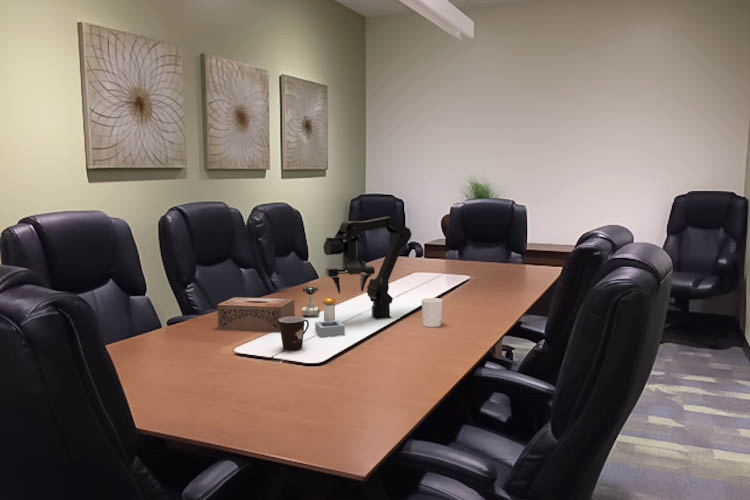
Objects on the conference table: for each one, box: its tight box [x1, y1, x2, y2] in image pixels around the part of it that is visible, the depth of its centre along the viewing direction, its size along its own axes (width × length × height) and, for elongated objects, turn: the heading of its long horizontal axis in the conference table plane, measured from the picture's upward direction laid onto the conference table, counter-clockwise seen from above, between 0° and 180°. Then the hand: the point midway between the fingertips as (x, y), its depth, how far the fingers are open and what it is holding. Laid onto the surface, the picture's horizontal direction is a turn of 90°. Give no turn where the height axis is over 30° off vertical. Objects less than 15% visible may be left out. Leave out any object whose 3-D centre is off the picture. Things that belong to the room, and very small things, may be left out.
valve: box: [301, 286, 320, 317], centre depth 251 cm, size 7×7×12 cm
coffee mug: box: [279, 316, 310, 352], centre depth 204 cm, size 12×9×10 cm
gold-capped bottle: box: [322, 297, 336, 327], centre depth 222 cm, size 5×5×13 cm
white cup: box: [421, 297, 443, 328], centre depth 233 cm, size 8×8×10 cm
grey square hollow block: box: [314, 319, 346, 338], centre depth 223 cm, size 9×9×4 cm
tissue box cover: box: [216, 297, 296, 333], centre depth 235 cm, size 26×14×10 cm, turn 77°
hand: (350, 292), depth 239 cm, fingers open, 9 cm apart
